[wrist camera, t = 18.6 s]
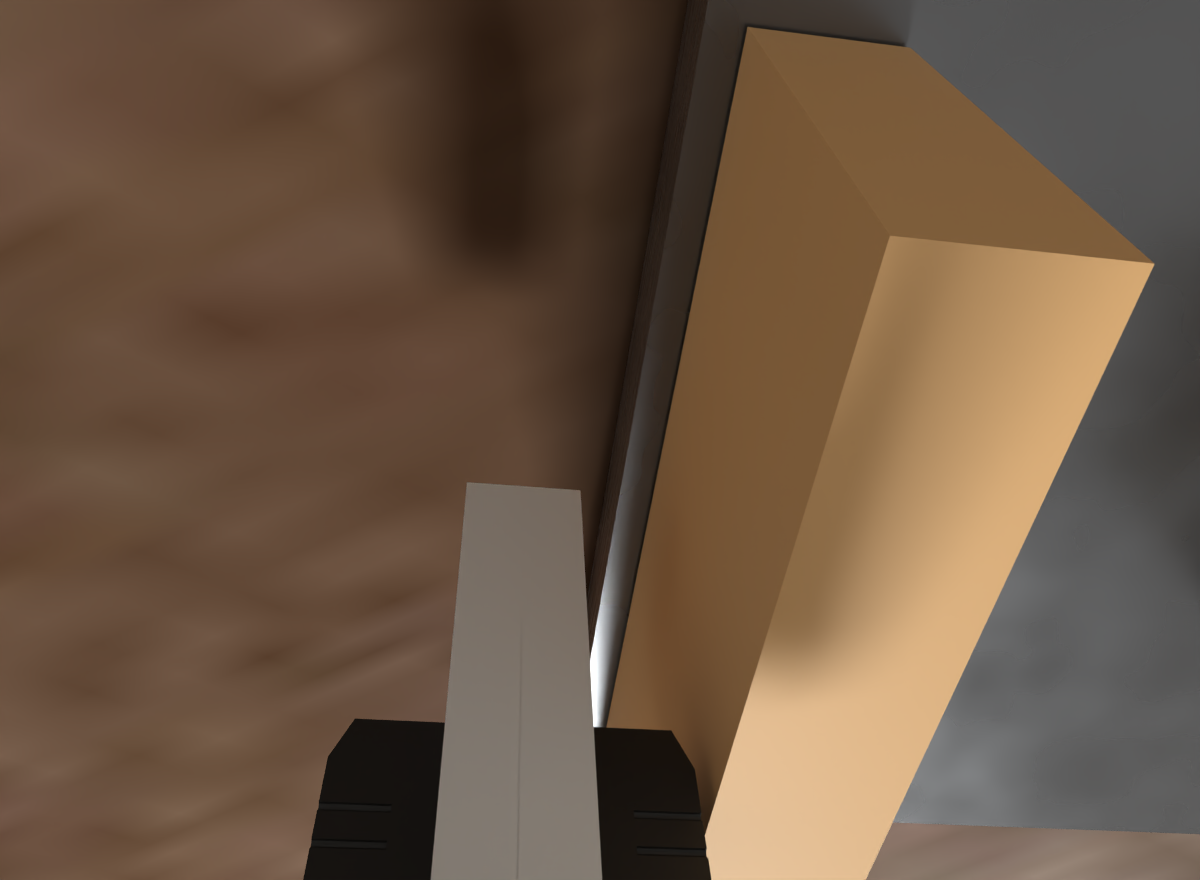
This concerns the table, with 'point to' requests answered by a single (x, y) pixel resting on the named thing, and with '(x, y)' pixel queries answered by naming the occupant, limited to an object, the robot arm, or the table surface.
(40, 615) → the table surface
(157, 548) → the table surface
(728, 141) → the bar
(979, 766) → the base
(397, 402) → the table surface
